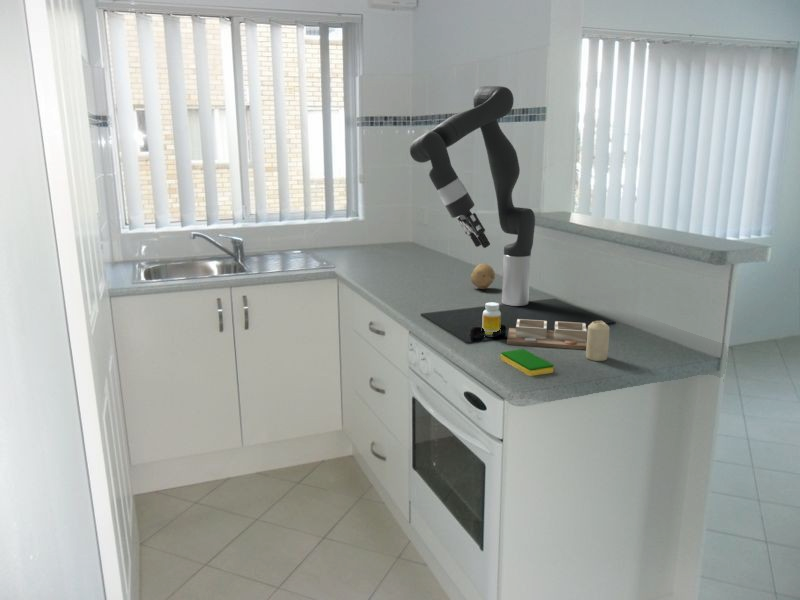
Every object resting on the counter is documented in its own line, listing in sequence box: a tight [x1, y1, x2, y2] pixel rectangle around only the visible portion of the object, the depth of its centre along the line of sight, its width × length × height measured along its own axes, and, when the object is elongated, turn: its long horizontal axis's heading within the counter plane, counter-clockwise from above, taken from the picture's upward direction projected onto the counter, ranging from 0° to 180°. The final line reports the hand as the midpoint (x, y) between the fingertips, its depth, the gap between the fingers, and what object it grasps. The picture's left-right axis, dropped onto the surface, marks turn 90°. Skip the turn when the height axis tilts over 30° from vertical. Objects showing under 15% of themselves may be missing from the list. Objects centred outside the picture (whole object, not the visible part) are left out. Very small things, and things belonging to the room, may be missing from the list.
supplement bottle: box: [481, 301, 502, 335], centre depth 195 cm, size 5×5×10 cm
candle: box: [585, 320, 611, 362], centre depth 176 cm, size 6×6×10 cm
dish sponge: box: [500, 348, 554, 377], centre depth 171 cm, size 7×14×2 cm, turn 23°
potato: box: [469, 263, 496, 290], centre depth 251 cm, size 9×9×10 cm
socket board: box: [506, 318, 588, 351], centre depth 191 cm, size 13×24×4 cm, turn 78°
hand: (483, 246), depth 194 cm, fingers open, 8 cm apart
